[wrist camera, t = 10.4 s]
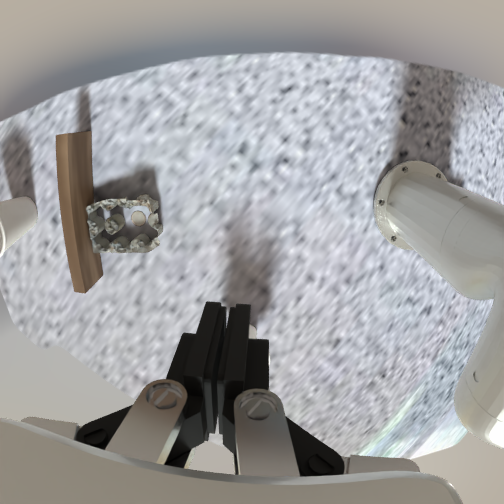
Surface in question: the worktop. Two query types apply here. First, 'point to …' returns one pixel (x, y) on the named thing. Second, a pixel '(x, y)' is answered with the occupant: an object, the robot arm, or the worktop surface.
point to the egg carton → (117, 222)
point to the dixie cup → (16, 220)
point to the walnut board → (77, 207)
